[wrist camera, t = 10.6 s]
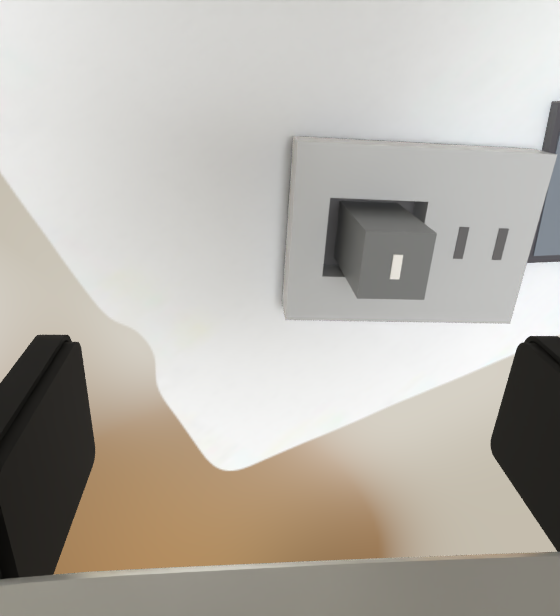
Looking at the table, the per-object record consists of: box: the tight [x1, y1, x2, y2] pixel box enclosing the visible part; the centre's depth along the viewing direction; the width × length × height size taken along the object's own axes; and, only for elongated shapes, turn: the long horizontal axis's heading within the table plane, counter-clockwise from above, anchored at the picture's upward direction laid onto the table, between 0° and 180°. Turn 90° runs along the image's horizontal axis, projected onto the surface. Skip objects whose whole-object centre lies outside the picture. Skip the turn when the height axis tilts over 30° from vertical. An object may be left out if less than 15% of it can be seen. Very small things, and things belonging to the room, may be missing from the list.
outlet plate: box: [282, 136, 557, 324], centre depth 37 cm, size 13×18×3 cm
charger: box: [334, 201, 437, 300], centre depth 34 cm, size 4×4×8 cm
